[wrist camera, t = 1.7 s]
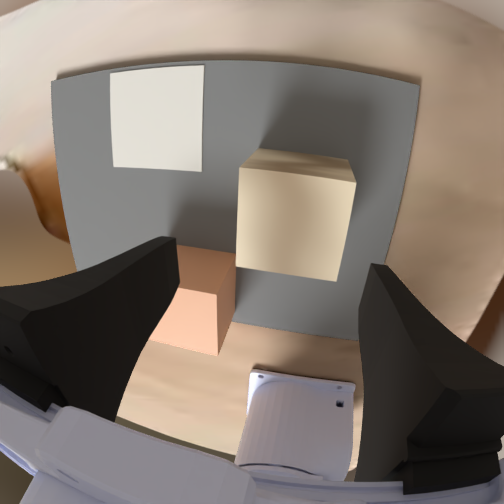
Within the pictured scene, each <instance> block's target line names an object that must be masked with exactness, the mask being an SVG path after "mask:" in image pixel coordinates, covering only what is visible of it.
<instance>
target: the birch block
mask: <svg viewBox="0 0 504 504" xmlns="http://www.w3.org/2000/svg"><path fill="white" fill-rule="evenodd" d="M355 189H356V180H355V177H354V175H353V172H352V169H351V167H350V164H349V161H348V160H347V159H340V158H334V157H327V156H321V155H313V154H306V153H298V152H290V151H281V150H272V149H263V148H258V149H257V150H256V151H255V152H254V153H253V154H252V155H251V156H250V157H249V158H248V159H247V160H246V161H245V162H244V163H243V164H242V165H241V166H240V167H239V186H238V212H237V239H236V266H237V267H243V268H249V269H256V270H262V271H269V272H275V273H282V274H288V275H295V276H301V277H308V278H315V279H322V280H328V281H335V282H336V281H337V276H338V272H339V268H340V263H341V259H342V254H343V250H344V245H345V240H346V236H347V231H348V226H349V221H350V216H351V211H352V205H353V200H354V194H355Z"/></svg>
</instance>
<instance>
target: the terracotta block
mask: <svg viewBox="0 0 504 504" xmlns="http://www.w3.org/2000/svg"><path fill="white" fill-rule="evenodd" d="M177 255H178V265H179V275H180V284H179V286H178V289H177V291H176V294H175V296H174V298H173V300H172V302H171V304H170V306H169V307H168V309H167V311H166V312H165V314H164V315H163V317H162V319H161V320H160V322H159V323H158V325H157V326H156V328H155V330H154V331H153V333H152V334H151V336H150V338H149V339H150V340H153V341H157V342H161V343H165V344H169V345H173V346H177V347H181V348H185V349H189V350H193V351H198V352H202V353H206V354H211V355H216V356H218V354H219V352H220V349H221V347H222V344H223V342H224V339H225V336H226V334H227V331H228V329H229V326H230V323H231V321H232V318H233V315H234V313H235V288H236V254H235V253H228V252H222V251H215V250H209V249H202V248H196V247H189V246H182V245H177Z"/></svg>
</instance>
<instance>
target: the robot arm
mask: <svg viewBox="0 0 504 504" xmlns="http://www.w3.org/2000/svg"><path fill="white" fill-rule="evenodd" d="M179 284H180V275H179V265H178V255H177V244H176V238H175V237H167V236H160V237H157V238H154V239H152V240H149V241H147V242H145V243H143V244H140V245H138V246H136V247H134V248H132V249H130V250H128V251H126V252H124V253H122V254H119V255H117V256H115V257H113V258H110V259H108V260H106V261H104V262H101V263H99V264H97V265H94V266H92V267H89V268H86V269H84V270H81V271H78V272H75V273H72V274H68V275H65V276H61V277H57V278H54V279H50V280H46V281H41V282H36V283H30V284H24V285H15V286H4V287H0V451H2V452H3V453H4V454H5V455H6V456H8V457H9V458H10V459H11V460H13V461H14V462H15V463H16V464H18V465H19V466H20V467H22V468H23V469H25V470H26V471H27V472H29V473H30V474H32V475H33V476H34V478H33V480H32V482H31V484H30V486H29V488H28V489H27V491H26V493H25V494H24V497H23V498H22V500H21V502H20V504H504V458H502V459H501V460H498V454H497V452H499V451H500V450H501V449H502V443H501V437H502V436H503V435H504V366H502V365H500V364H498V363H496V362H494V361H493V360H491V359H489V358H488V357H486V356H484V355H483V354H481V353H479V352H478V351H476V350H475V349H474V348H472V347H471V346H469V345H468V344H467V343H465V342H464V341H462V340H461V339H460V338H458V337H457V336H456V335H455V334H453V333H452V332H451V331H450V330H449V329H447V328H446V327H445V326H444V325H443V324H442V323H441V322H439V321H438V320H437V319H436V318H435V317H434V316H433V315H432V314H431V313H430V312H429V311H428V310H427V309H426V308H425V307H424V306H423V305H422V304H421V303H420V302H419V301H418V299H417V298H416V297H415V296H414V295H413V294H412V293H411V292H410V291H409V289H408V288H407V287H406V286H405V285H404V284H403V283H402V281H401V280H400V279H399V278H398V277H397V276H396V274H395V273H394V272H393V271H392V270H391V269H390V268H389V267H388V266H387V265H382V264H374V263H371V264H370V268H369V271H368V275H367V279H366V283H365V286H364V290H363V294H362V297H361V301H360V304H359V308H358V334H359V343H360V352H361V361H362V370H363V381H364V403H363V420H362V431H361V441H360V449H359V456H358V463H357V469H356V475H355V480H354V482H344V479H345V477H346V474H347V472H348V469H349V465H350V461H351V456H352V448H353V393H354V391H355V384H354V383H349V382H340V381H331V380H323V379H315V378H308V377H301V376H294V375H287V374H281V373H275V372H269V371H263V370H258V369H253V370H251V372H250V379H249V391H248V403H247V418H246V422H245V426H244V429H243V433H242V437H241V440H240V444H239V448H238V451H237V455H236V458H235V462H234V463H232V462H230V461H228V460H226V459H223V458H220V457H217V456H214V455H211V454H208V453H205V452H202V451H199V450H195V449H192V448H188V447H185V446H181V445H178V444H174V443H171V442H168V441H164V440H161V439H158V438H155V437H152V436H149V435H146V434H143V433H140V432H138V431H134V430H132V429H129V428H127V427H124V426H121V425H119V424H116V423H114V422H115V418H116V415H117V412H118V409H119V406H120V403H121V400H122V397H123V394H124V391H125V389H126V386H127V384H128V381H129V379H130V376H131V374H132V371H133V369H134V367H135V364H136V362H137V360H138V358H139V356H140V353H141V351H142V350H143V348H144V346H145V344H146V342H147V341H148V339H149V338H150V336H151V334H152V333H153V331H154V330H155V328H156V326H157V325H158V323H159V322H160V320H161V319H162V317H163V315H164V314H165V312H166V311H167V309H168V307H169V306H170V304H171V302H172V300H173V298H174V296H175V294H176V291H177V289H178V286H179Z"/></svg>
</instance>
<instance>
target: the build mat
mask: <svg viewBox="0 0 504 504" xmlns="http://www.w3.org/2000/svg"><path fill="white" fill-rule="evenodd" d="M419 89H420V86H419V85H416V84H412V83H408V82H404V81H400V80H396V79H391V78H387V77H382V76H377V75H372V74H367V73H362V72H356V71H350V70H344V69H338V68H331V67H323V66H315V65H306V64H296V63H284V62H269V61H245V60H206V61H182V62H168V63H156V64H146V65H137V66H129V67H122V68H115V69H109V70H103V71H97V72H91V73H86V74H81V75H76V76H72V77H67V78H63V79H59V80H54V81H51V99H52V119H53V133H54V144H55V154H56V163H57V171H58V178H59V185H60V191H61V197H62V203H63V209H64V214H65V219H66V224H67V229H68V234H69V238H70V243H71V247H72V251H73V256H74V260H75V264H76V267H77V271H81V270H84V269H86V268H89V267H92V266H94V265H97V264H99V263H101V262H104V261H106V260H108V259H110V258H113V257H115V256H117V255H119V254H122V253H124V252H126V251H128V250H130V249H132V248H134V247H136V246H138V245H140V244H143V243H145V242H147V241H149V240H152V239H154V238H157V237H160V236H167V237H175V238H176V244H177V245H182V246H189V247H196V248H202V249H209V250H215V251H222V252H228V253H235V254H236V239H237V212H238V186H239V167H240V166H241V165H242V164H243V163H244V162H245V161H246V160H247V159H248V158H249V157H250V156H251V155H252V154H253V153H254V152H255V151H256V150H257V149H258V148H263V149H272V150H281V151H290V152H298V153H306V154H313V155H321V156H327V157H334V158H340V159H347V160H348V161H349V164H350V167H351V169H352V172H353V175H354V177H355V180H356V189H355V194H354V200H353V205H352V211H351V216H350V221H349V226H348V231H347V236H346V240H345V245H344V250H343V254H342V259H341V263H340V268H339V272H338V276H337V281H336V282H335V281H328V280H322V279H315V278H308V277H301V276H295V275H288V274H282V273H275V272H269V271H262V270H256V269H249V268H243V267H237V266H236V288H235V313H234V315H233V318H232V322H237V323H243V324H248V325H254V326H260V327H266V328H272V329H278V330H284V331H290V332H297V333H304V334H310V335H317V336H325V337H332V338H340V339H348V340H356V341H358V339H359V334H358V308H359V304H360V301H361V297H362V294H363V290H364V286H365V283H366V279H367V275H368V271H369V268H370V264H371V263H374V264H382V265H384V262H385V258H386V255H387V251H388V248H389V244H390V240H391V237H392V233H393V229H394V225H395V221H396V217H397V213H398V209H399V205H400V201H401V196H402V192H403V187H404V182H405V178H406V173H407V168H408V162H409V157H410V152H411V146H412V140H413V134H414V127H415V121H416V114H417V106H418V98H419Z"/></svg>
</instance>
